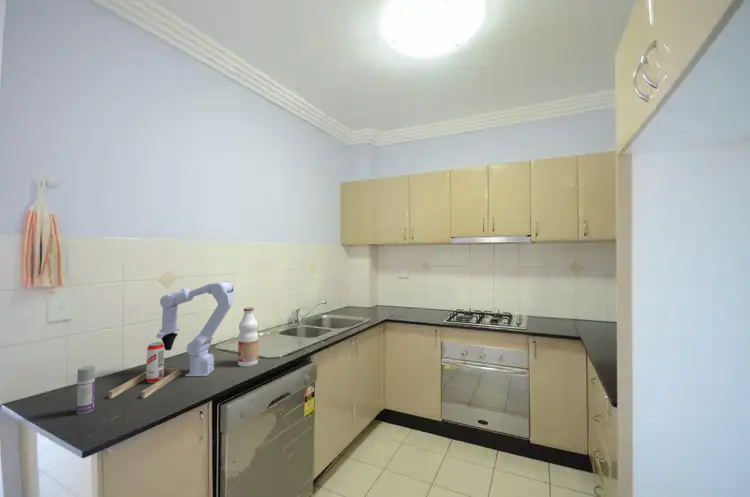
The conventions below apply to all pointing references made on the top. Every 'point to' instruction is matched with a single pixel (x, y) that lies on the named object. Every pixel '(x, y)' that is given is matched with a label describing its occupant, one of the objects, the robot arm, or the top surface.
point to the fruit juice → (248, 339)
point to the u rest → (171, 375)
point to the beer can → (155, 362)
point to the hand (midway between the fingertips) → (168, 349)
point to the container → (85, 389)
